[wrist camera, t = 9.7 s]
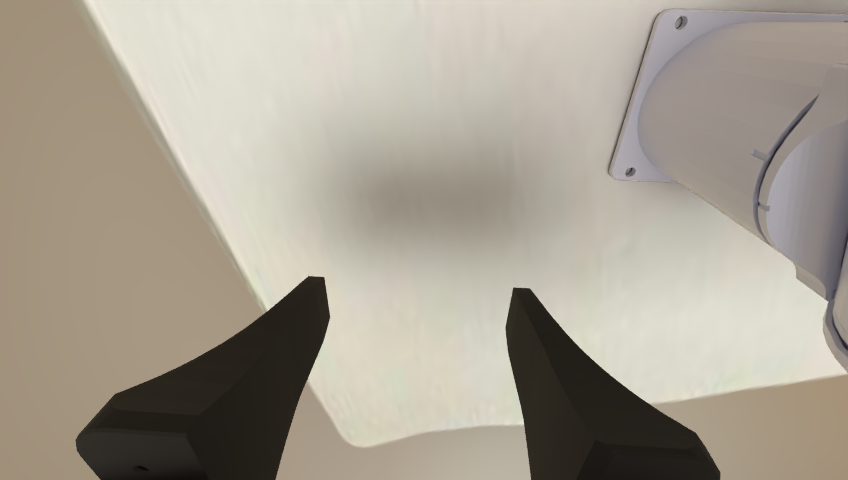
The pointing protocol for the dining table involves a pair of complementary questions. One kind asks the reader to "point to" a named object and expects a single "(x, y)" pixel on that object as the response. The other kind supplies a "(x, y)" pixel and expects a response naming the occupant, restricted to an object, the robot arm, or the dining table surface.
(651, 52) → the robot arm
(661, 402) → the dining table surface
